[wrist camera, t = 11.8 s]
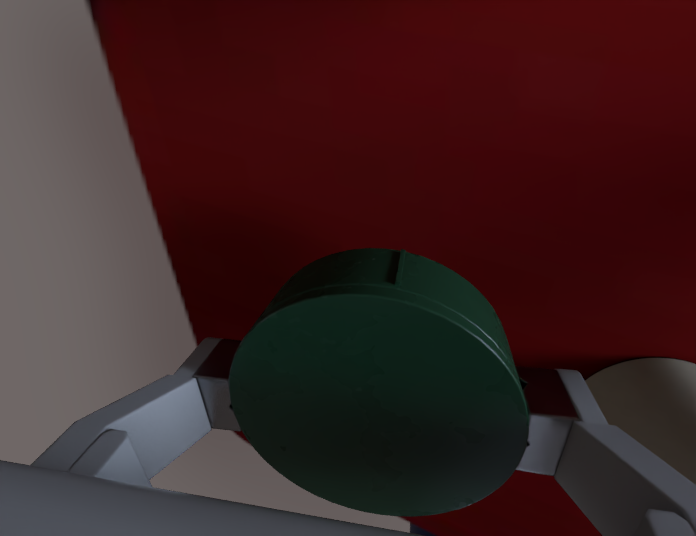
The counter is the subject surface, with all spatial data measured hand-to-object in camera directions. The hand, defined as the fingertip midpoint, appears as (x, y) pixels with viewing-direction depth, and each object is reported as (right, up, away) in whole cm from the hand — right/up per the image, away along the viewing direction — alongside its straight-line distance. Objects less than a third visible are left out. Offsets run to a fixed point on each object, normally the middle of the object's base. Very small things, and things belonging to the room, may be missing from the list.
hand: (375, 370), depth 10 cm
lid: (0, -1, -1) cm, 2 cm away
